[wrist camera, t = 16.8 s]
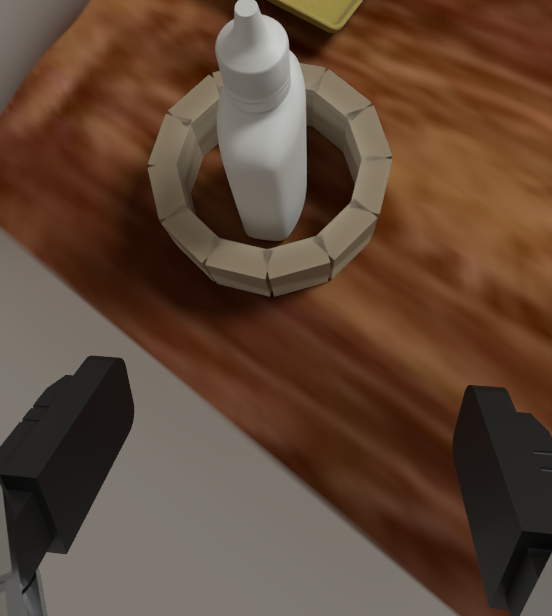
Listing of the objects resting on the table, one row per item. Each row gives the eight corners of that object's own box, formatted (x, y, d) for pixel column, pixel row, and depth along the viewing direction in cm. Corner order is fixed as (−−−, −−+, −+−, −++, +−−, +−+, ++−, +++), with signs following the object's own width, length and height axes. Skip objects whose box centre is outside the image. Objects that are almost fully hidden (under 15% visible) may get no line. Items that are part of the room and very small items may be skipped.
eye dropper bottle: (210, 211, 26) (130, 38, 14) (274, 136, 27) (247, -86, 15) (274, 257, 25) (244, 111, 14) (338, 177, 26) (361, -24, 14)
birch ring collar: (408, 259, 25) (422, 237, 22) (193, 318, 25) (177, 304, 22) (343, 77, 27) (347, 35, 25) (150, 130, 27) (131, 95, 25)
